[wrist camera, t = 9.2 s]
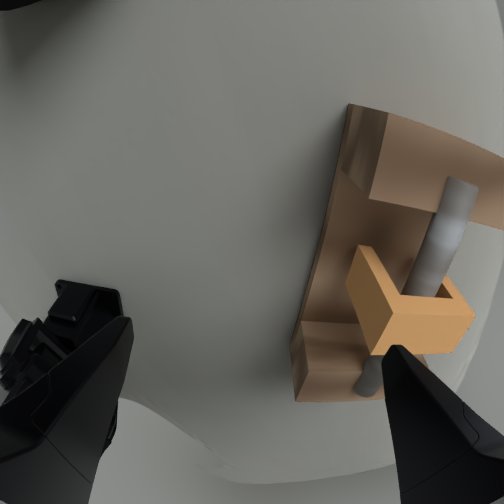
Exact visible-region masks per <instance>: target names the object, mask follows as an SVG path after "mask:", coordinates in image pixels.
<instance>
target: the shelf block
mask: <svg viewBox="0 0 504 504" xmlns="http://www.w3.org/2000/svg"><path fill="white" fill-rule="evenodd" d="M468 221H471V222H475V223H479V224H483V225H486V226H490V227H494V228H497V229H501V230H504V158H502V157H500V156H498V155H496V154H494V153H492V152H490V151H488V150H486V149H483V148H481V147H479V146H477V145H475V144H472V143H470V142H468V141H465V140H463V139H461V138H458V137H456V136H453V135H451V134H448V133H446V132H443V131H441V130H438V129H435V128H433V127H430V126H427V125H424V124H421V123H419V122H416V121H413V120H410V119H407V118H404V117H400V116H397V115H394V114H391V113H387V112H383V111H379V110H375V109H371V108H367V107H363V106H358V105H354V104H349V105H348V111H347V116H346V122H345V127H344V132H343V137H342V143H341V147H340V152H339V157H338V162H337V167H336V171H335V176H334V181H333V185H332V190H331V194H330V198H329V203H328V207H327V211H326V215H325V220H324V224H323V228H322V232H321V236H320V240H319V244H318V248H317V251H316V255H315V259H314V263H313V267H312V270H311V274H310V278H309V281H308V285H307V289H306V292H305V296H304V299H303V303H302V306H301V310H300V313H299V316H298V320H297V323H296V327H295V330H294V333H293V336H292V340H291V343H290V352H291V362H292V372H293V383H294V393H295V402H341V401H363V400H378V399H385V396H384V386H383V377H382V368H381V362H382V359H383V357H384V355H370V352H369V349H368V346H367V343H366V340H365V337H364V334H363V331H362V328H361V325H360V322H359V320H358V317H357V314H356V311H355V308H354V306H353V303H352V300H351V297H350V295H349V292H348V289H347V287H346V284H345V282H346V279H347V276H348V273H349V270H350V267H351V265H352V262H353V259H354V256H355V253H356V250H357V247H358V245H363V246H370V247H372V248H373V249H374V251H375V253H376V254H377V256H378V258H379V259H380V261H381V263H382V264H383V266H384V268H385V270H386V271H387V273H388V275H389V276H390V278H391V280H392V282H393V283H394V285H395V287H396V289H397V291H398V292H399V294H400V295H409V296H422V297H435V295H436V293H437V291H438V289H439V287H440V285H441V283H442V281H443V279H444V277H445V275H446V273H447V271H448V268H449V266H450V264H451V262H452V260H453V257H454V255H455V253H456V250H457V248H458V246H459V243H460V241H461V238H462V236H463V233H464V231H465V228H466V225H467V223H468ZM413 355H414V356H415V357H416V358H417V359H418V360H419V361H421V362H422V363H423V364H424V365H425V366H426V367H427V368H428V365H427V363H426V361H425V359H424V357H423V354H413Z"/></svg>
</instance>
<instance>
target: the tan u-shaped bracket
mask: <svg viewBox="0 0 504 504" xmlns="http://www.w3.org/2000/svg"><path fill="white" fill-rule="evenodd" d="M345 284H346V287H347V289H348V292H349V295H350V297H351V300H352V303H353V306H354V308H355V311H356V314H357V317H358V320H359V322H360V325H361V328H362V331H363V334H364V337H365V340H366V343H367V346H368V349H369V352H370V355H385V354H386V352H387V351H388V349H389V347H390V346H391V345H393V344H400V345H403V346H404V347H405V348H406V349H407V350H408V351H410V352H411V353H412V354H436V353H452V351H453V350H454V348H455V347H456V345H457V344H458V343H459V341H460V340H461V338H462V337H463V335H464V334H465V332H466V331H467V329H468V328H469V326H470V324H471V323H472V321H473V320H474V318H475V316H476V315H475V314H474V312H473V311H472V309H471V308H470V307H469V305H468V304H467V302H466V301H465V299H464V298H463V297H462V295H461V294H460V293H459V291H458V290H457V288H456V287H455V286H454V284H453V283H452V282H451V280H450V279H449V278H448V277H447V275H445V277H444V279H443V281H442V283H441V285H440V287H439V289H438V291H437V293H436V295H435V297H422V296H409V295H400V294H399V292H398V291H397V289H396V287H395V285H394V283H393V282H392V280H391V278H390V276H389V275H388V273H387V271H386V270H385V268H384V266H383V264H382V263H381V261H380V259H379V258H378V256H377V254H376V253H375V251H374V249H373V248H372V247H370V246H363V245H358V247H357V250H356V253H355V256H354V259H353V262H352V265H351V267H350V270H349V273H348V276H347V279H346V282H345Z"/></svg>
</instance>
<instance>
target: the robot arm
mask: <svg viewBox="0 0 504 504" xmlns="http://www.w3.org/2000/svg"><path fill="white" fill-rule="evenodd" d="M55 287H56V291H57V294H58V298H57V300H56V301H55V303H54V304H53V305H52V307H51V308H50V310H49V311H48V316H47V318H46V319H45V321H44V322H42V321H41V320H40V319H39V318H36V319H35V320H34V321H33V322H31V321H28V320H25V319H22V320H21V321H20V322H19V324H18V325H17V326H16V328H15V330H14V331H13V333H12V334H11V335H10V337H9V339H8V340H7V342H6V344H5V346H4V348H3V350H2V352H1V354H0V504H88V502H89V498H90V493H91V490H92V484H93V482H94V478H95V474H96V470H97V467H98V463H99V460H100V457H101V456H102V454H103V453H104V451H105V450H106V449H107V448H108V446H109V445H110V444H111V440H112V438H113V436H114V434H115V431H116V426H117V409H118V398H119V395H120V392H121V389H122V386H123V383H124V380H125V376H126V371H127V367H128V362H129V358H130V353H131V349H132V345H133V340H134V333H133V325H132V320H131V318H130V317H125V316H123V311H122V305H121V300H120V294H119V292H118V291H117V290H115V289H110V288H104V287H98V286H93V285H87V284H81V283H76V282H71V281H65V280H57V281H56V283H55ZM112 294H113V295H114V296H113V295H112ZM381 368H382V377H383V386H384V396H385V402H386V408H387V413H388V418H389V423H390V429H391V435H392V440H393V446H394V453H395V459H396V466H397V473H398V481H399V489H400V494H401V495H400V499H401V504H504V436H503V435H502V434H501V433H499V432H498V431H497V430H496V429H495V428H493V427H492V426H491V425H490V424H488V423H487V422H486V421H485V420H483V419H482V418H481V417H480V416H479V415H477V414H476V413H475V412H474V411H473V410H472V409H471V408H470V407H469V406H468V405H466V403H465V402H463V401H462V400H461V399H460V398H459V397H458V396H457V395H456V394H455V393H454V392H453V391H452V390H451V389H450V388H449V387H448V386H446V385H445V384H444V383H443V382H442V381H441V380H440V379H439V378H438V377H437V376H436V375H435V374H434V373H432V372H431V371H430V370H429V369H428V368H427V367H426V366H425V365H424V364H423V363H422V362H421V361H419V360H418V359H417V358H416V357H415V356H414V355H413V354H412V353H411V352H410V351H408V350H407V349H406V348H405V347H404V346H403V345H400V344H393V345H391V346H390V347H389V349H388V351H387V352H386V354H385V355H384V357H383V359H382V362H381Z"/></svg>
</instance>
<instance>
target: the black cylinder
mask: <svg viewBox="0 0 504 504" xmlns="http://www.w3.org/2000/svg"><path fill="white" fill-rule="evenodd" d="M38 1H41V0H0V11H5V10H12V9H16V8H19V7H23V6H27V5H30V4H33V3H35V2H38Z"/></svg>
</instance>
